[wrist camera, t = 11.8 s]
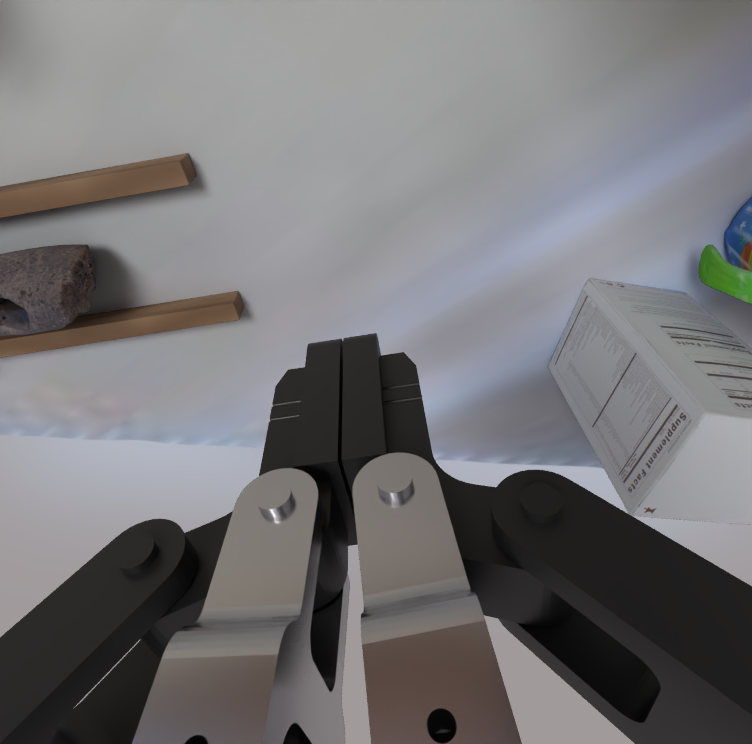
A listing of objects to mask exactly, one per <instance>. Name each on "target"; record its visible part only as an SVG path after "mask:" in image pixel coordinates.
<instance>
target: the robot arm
mask: <svg viewBox="0 0 752 744" xmlns="http://www.w3.org/2000/svg"><path fill="white" fill-rule="evenodd" d="M357 544H358V551H359V560H360V571H361V580H362V590H363V601H364V612H363V613H362V614H361V637H362V649H363V659H364V670H365V681H366V692H367V703H368V714H369V725H370V735H371V744H522V743H521V739H520V736H519V732H518V729H517V726H516V722H515V719H514V716H513V713H512V709H511V706H510V702H509V699H508V696H507V692H506V689H505V685H504V682H503V679H502V676H501V672H500V669H499V665H498V662H497V658H496V655H495V652H494V648H493V645H492V642H491V638H490V635H489V632H488V629H487V625H486V621H485V618H484V615H485V616H490V617H494V618H498V619H499V620H500V622H501V623H502V625H503V626H504V627H505V628H506V629H507V630H508V631H509V632H510V633H511V634H513V635H514V636H515V637H516V638H517V639H518V640H519V641H520V642H522V643H523V644H524V645H525V646H526V647H527V648H528V649H529V650H531V651H532V652H533V653H534V654H535V655H536V656H537V657H538V658H540V659H541V660H542V661H543V662H544V663H545V664H546V665H547V666H549V667H550V668H551V669H552V670H553V671H554V672H555V673H556V674H557V675H559V676H560V677H561V678H562V679H563V680H564V681H565V682H567V683H568V684H569V685H570V686H571V687H572V688H573V689H574V690H576V691H577V692H578V693H579V694H580V695H581V696H582V697H583V698H584V699H586V700H587V701H588V702H589V703H590V704H591V705H592V706H593V707H595V708H596V709H597V710H598V711H599V712H600V713H601V714H602V715H604V716H605V717H606V718H607V719H608V720H609V721H610V722H611V723H612V724H614V725H615V726H616V727H617V728H618V729H619V730H620V731H621V732H623V733H624V734H625V735H626V736H627V737H628V738H629V739H631V741H633V742H634V743H635V744H752V586H750V585H748V584H747V583H745V582H743V581H741V580H740V579H738V578H736V577H735V576H733V575H731V574H730V573H728V572H726V571H724V570H723V569H721V568H719V567H718V566H716V565H714V564H713V563H711V562H709V561H707V560H706V559H704V558H702V557H700V556H699V555H697V554H695V553H694V552H692V551H690V550H689V549H687V548H685V547H684V546H682V545H680V544H678V543H677V542H675V541H673V540H672V539H670V538H668V537H666V536H665V535H663V534H661V533H660V532H658V531H656V530H655V529H653V528H651V527H649V526H648V525H646V524H644V523H643V522H641V521H639V520H637V519H636V518H634V517H632V516H631V515H629V514H627V513H625V512H624V511H622V510H620V509H619V508H617V507H615V506H613V505H612V504H610V503H608V502H607V501H605V500H603V499H602V498H600V497H598V496H597V495H595V494H593V493H591V492H590V491H588V490H586V489H585V488H583V487H581V486H579V485H578V484H576V483H574V482H573V481H571V480H569V479H567V478H565V477H563V476H561V475H559V474H556V473H553V472H549V471H544V470H526V471H520V472H518V473H514V474H512V475H510V476H508V477H507V478H505V479H504V480H503V481H502V482H501V483H500V484H499V485H498V486H497V487H496V488H495V487H488V486H481V485H475V484H470V483H465V482H462V481H459V480H457V479H455V478H453V477H451V476H450V475H448V474H447V473H445V472H444V471H443V470H442V469H441V468H440V467H439V466H438V464H437V463H436V461H435V459H434V457H433V454H432V450H431V444H430V439H429V434H428V428H427V423H426V417H425V412H424V406H423V401H422V396H421V390H420V385H419V379H418V374H417V368H416V365H415V364H414V363H413V362H412V361H411V360H410V359H409V358H408V356H407V355H406V354H405V353H404V352H402V353H396V354H389V355H382V356H381V353H380V348H379V342H378V337H377V333H375V334H368V335H362V336H355V337H349V338H344V340H343V341H342V339H337V340H330V341H323V342H317V343H310V344H308V347H307V356H306V364H305V367H304V368H297V369H291V370H288V371H287V372H286V373H285V375H284V376H283V377H282V379H281V380H280V381H279V383H278V384H277V385H276V388H275V393H274V399H273V407H272V409H271V415H270V422H269V426H268V431H267V436H266V442H265V447H264V453H263V458H262V463H261V469H260V474H259V477H257V478H256V479H254V480H253V481H252V482H250V483H249V484H248V485H247V486H246V487H245V488H244V490H243V491H242V492H241V493H240V495H239V497H238V499H237V501H236V503H235V506H234V510H233V511H232V512H231V513H229V514H227V515H226V516H224V517H222V518H219V519H217V520H215V521H213V522H210V523H208V524H206V525H203V526H201V527H198V528H196V529H194V530H191V531H189V532H186V533H184V532H183V530H182V529H181V527H180V526H179V525H178V524H177V523H175V522H173V521H170V520H166V519H152V520H148V521H144V522H142V523H139V524H136V525H134V526H132V527H130V528H129V529H127V530H126V531H124V532H122V533H121V534H120V535H119V536H118V537H116V538H115V539H114V540H113V541H111V542H110V543H109V544H108V545H107V546H106V547H104V548H103V549H102V550H101V551H100V552H99V553H97V554H96V555H95V556H94V557H93V558H92V559H91V560H89V561H88V562H87V563H86V564H85V565H84V566H82V567H81V568H80V569H79V570H78V571H77V572H75V573H74V574H73V575H72V576H71V577H70V578H69V579H67V580H66V581H65V582H64V583H63V584H62V585H60V586H59V587H58V588H57V589H56V590H55V591H54V592H52V593H51V594H50V595H49V596H48V597H47V598H46V599H44V600H43V601H42V602H41V603H40V604H39V605H37V606H36V607H35V608H34V609H33V610H32V611H31V612H29V613H28V614H27V615H26V616H25V617H23V618H22V619H21V620H20V621H19V622H18V623H16V624H15V625H14V626H13V627H12V628H11V629H10V630H9V631H7V632H6V633H5V634H4V635H3V636H2V637H1V638H0V744H345V725H344V717H343V709H342V684H343V671H344V657H345V644H346V631H347V617H348V603H349V590H350V582H349V577H348V574H347V572H348V546H349V545H357ZM140 639H141V640H140ZM138 640H140V641H139V643H138V644H137V645H136V646H135V647H134V648H133V649H132V650H131V651H130V652H129V653H128V654H127V655H126V656H125V657H124V658H123V659H122V660H121V661H120V662H119V663H118V664H117V665H116V666H115V667H114V668H113V669H112V671H111V672H110V673H109V674H108V675H107V676H106V677H105V678H104V679H103V680H102V681H101V682H100V683H99V684H98V685H97V686H96V687H95V688H94V689H93V690H92V691H91V692H90V693H89V694H88V696H87V697H86V698H85V699H84V700H83V701H82V702H81V703H80V704H79V705H77V704H78V703H79V702H80V701H81V700H82V698H84V696H85V695H86V694H87V693H88V692H89V691H90V690H91V689H92V688H93V687H94V686H95V685H96V684H97V683H98V682H99V681H100V680H101V679H102V678H103V677H104V676H105V675H106V674H107V673H108V672H109V671H110V670H111V668H112V667H113V666H114V665H115V664H116V663H117V662H118V661H119V660H120V659H121V658H122V657H123V656H124V655H125V654H126V653H127V652H128V651H129V650H130V649H131V648H132V647H133V646H134V645H135V644H136V642H138ZM76 705H77V706H76ZM75 706H76V707H75ZM74 707H75V708H74ZM73 708H74V709H73Z"/></svg>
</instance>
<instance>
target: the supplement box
mask: <svg viewBox="0 0 752 744" xmlns="http://www.w3.org/2000/svg"><path fill="white" fill-rule="evenodd" d="M548 368H549V370H550V372H551V374H552V376H553V377H554V379H555V381H556V383H557V385H558V386H559V388H560V390H561V392H562V394H563V395H564V397H565V399H566V401H567V403H568V404H569V406H570V408H571V410H572V412H573V413H574V415H575V417H576V419H577V421H578V422H579V424H580V426H581V428H582V430H583V431H584V433H585V435H586V437H587V438H588V440H589V442H590V444H591V446H592V448H593V450H594V451H595V453H596V455H597V457H598V458H599V460H600V462H601V464H602V466H603V468H604V470H605V471H606V473H607V475H608V477H609V479H610V480H611V482H612V484H613V485H614V487H615V489H616V491H617V493H618V495H619V496H620V498H621V500H622V502H623V503H624V505H625V507H626V509H627V511H628V513H629V514H630V515H631V516H640V517H651V518H665V519H679V520H691V521H704V522H718V523H729V524H751V523H752V349H751V348H750V347H749V346H748V345H746V344H745V343H744V342H743V341H742V340H741V339H739V338H738V337H737V336H736V335H735V334H734V333H732V332H731V331H730V330H729V329H728V328H726V327H725V326H724V325H723V324H722V323H720V322H719V321H718V320H717V319H716V318H714V317H713V316H712V315H711V314H710V313H709V312H707V311H706V310H705V309H704V308H703V307H702V306H700V305H699V304H698V303H697V302H696V301H695V300H693V299H692V298H691V297H690V296H689V295H687V294H686V293H684V292H679V291H672V290H665V289H658V288H652V287H645V286H638V285H631V284H624V283H617V282H610V281H603V280H596V279H589V280H587V282H586V284H585V287H584V289H583V291H582V293H581V295H580V298H579V300H578V302H577V304H576V306H575V308H574V311H573V313H572V315H571V317H570V319H569V322H568V324H567V326H566V328H565V330H564V333H563V335H562V337H561V339H560V341H559V344H558V346H557V348H556V350H555V352H554V354H553V357H552V359H551V361H550V363H549V365H548Z"/></svg>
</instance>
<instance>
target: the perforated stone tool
mask: <svg viewBox="0 0 752 744" xmlns="http://www.w3.org/2000/svg"><path fill="white" fill-rule="evenodd" d="M95 286H96V280H95V274H94V265H93V258H92V255H91V252H90V249H89V246H88V245H57V246H47V247H39V248H32V249H26V250H21V251H15V252H10V253H5V254H0V336H10V335H26V334H33V333H39V332H45V331H51V330H57V329H61V328H64V327H65V326H66V325H67V324H69V323H72V322H73V321H74V320H75V318H76V317H77V315H78V313H84V312H87V311H89V309H90V299H89V295H90V294H91V293H92V292H93V291H94V290H95V288H96V287H95Z"/></svg>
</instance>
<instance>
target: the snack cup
mask: <svg viewBox="0 0 752 744" xmlns="http://www.w3.org/2000/svg"><path fill="white" fill-rule="evenodd" d="M725 242H726V250H727V255H728V258H729V260H730V262H731V263H732V264H733V265H731V264H730V263H728V262H726V261H725V260H724V259H723V258H722V256H721V255H720V253H719V252H718V250H717V249H716V248H715V247H714V246H713V245H707V246H706V247H705V248H704V250H703V252H702V254H701V259H700V263H699V277H700V279H701V281H702V282H703V283H704V284H705V285H707V286H709V287H712V288H714V289H716V290H719V291H721V292H724V293H726V294H729V295H731V296H733V297H736V298H738V299H741V300H742V301H745V302H747V303H750V304H752V199H750V200H749V201H748V202H747V203H746V204H745V205H744V206H743V207H742V209H741V210H740V211H739V213H738V214H737V216H736V217H735V219H734V220H733V222H732V224H731V225H730V227H729V228H728V230H726V232H725Z"/></svg>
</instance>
